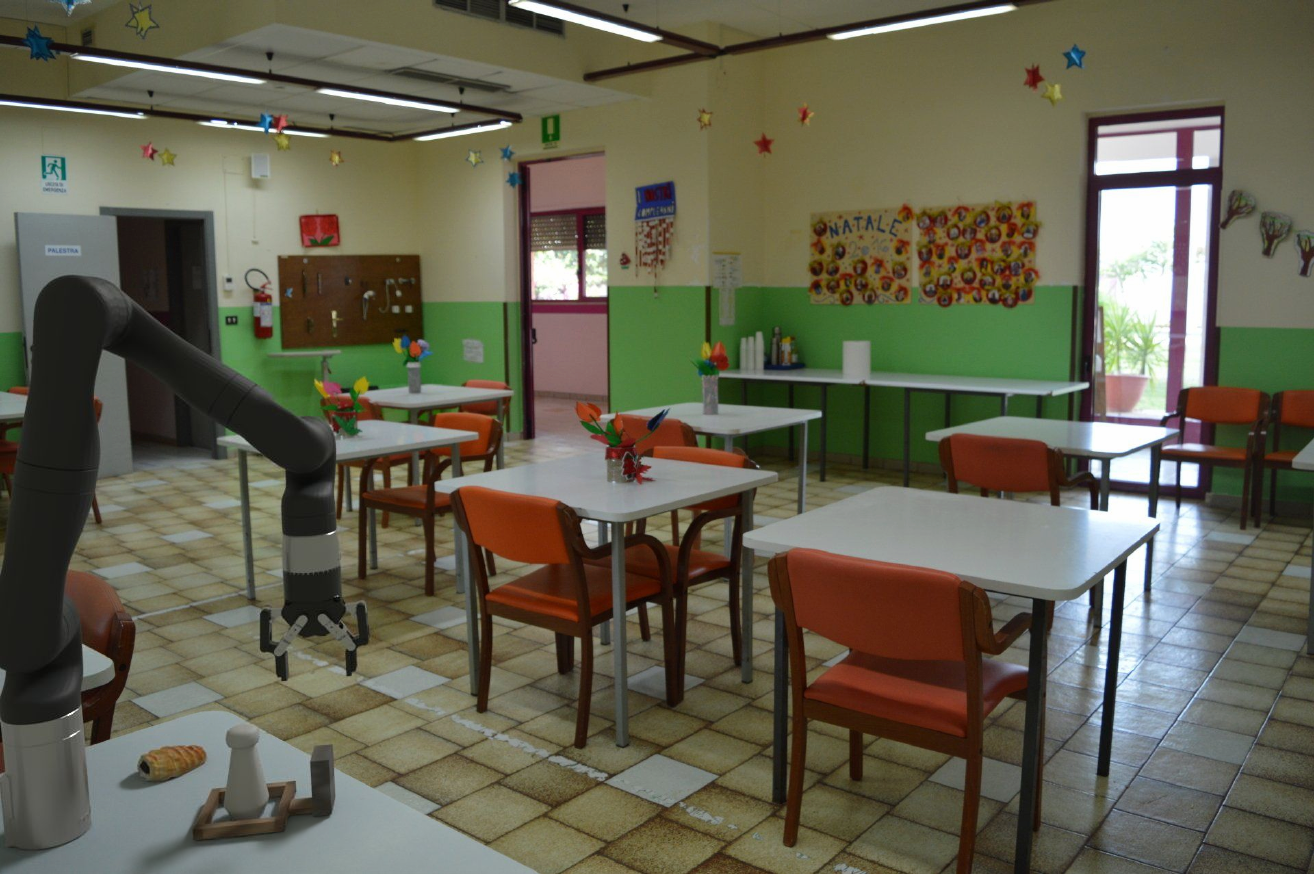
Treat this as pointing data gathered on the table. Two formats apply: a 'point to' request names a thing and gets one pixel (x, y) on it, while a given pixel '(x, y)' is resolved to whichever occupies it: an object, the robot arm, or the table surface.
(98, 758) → the table surface
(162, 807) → the table surface
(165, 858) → the table surface
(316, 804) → the frame
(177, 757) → the pastry
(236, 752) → the salt shaker
